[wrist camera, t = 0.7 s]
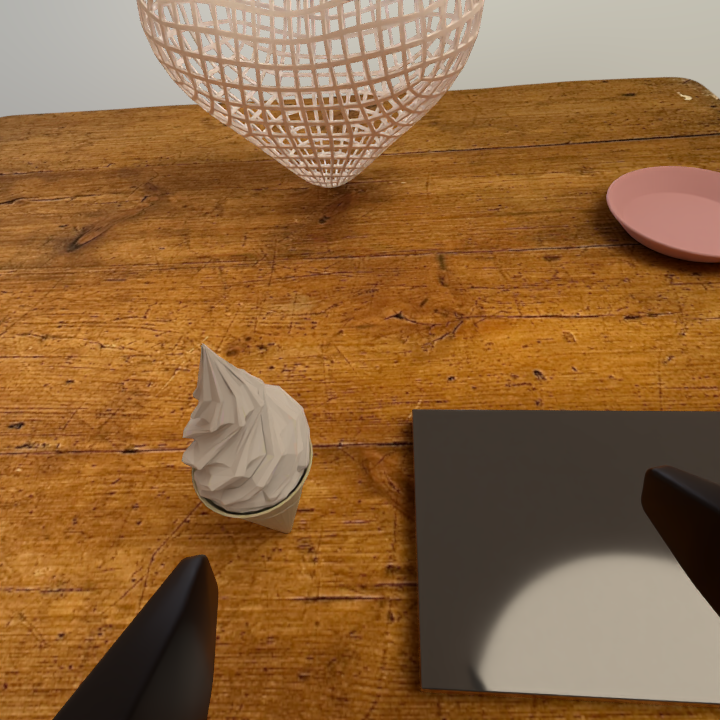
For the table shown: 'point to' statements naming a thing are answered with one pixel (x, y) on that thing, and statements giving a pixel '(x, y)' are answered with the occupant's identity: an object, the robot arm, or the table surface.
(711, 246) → the plate
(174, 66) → the heart
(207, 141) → the table surface
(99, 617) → the table surface
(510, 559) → the serving board
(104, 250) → the table surface
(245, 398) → the ice cream cone
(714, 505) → the robot arm
